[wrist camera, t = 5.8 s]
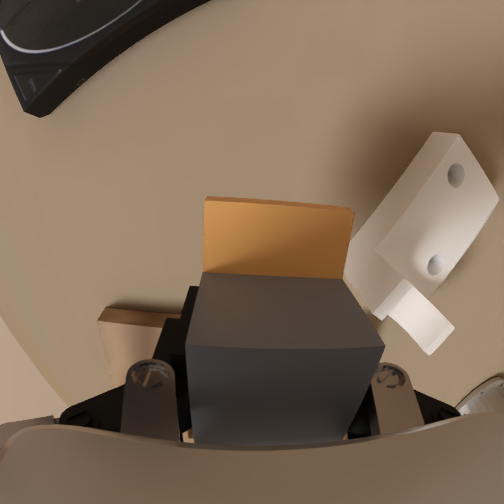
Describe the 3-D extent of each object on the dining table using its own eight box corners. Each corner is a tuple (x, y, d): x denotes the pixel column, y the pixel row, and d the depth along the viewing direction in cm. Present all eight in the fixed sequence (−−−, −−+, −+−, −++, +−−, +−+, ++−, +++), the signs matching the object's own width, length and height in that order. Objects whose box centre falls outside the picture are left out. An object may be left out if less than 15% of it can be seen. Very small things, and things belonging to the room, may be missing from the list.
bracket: (387, 301, 24) (429, 355, 17) (333, 259, 22) (372, 313, 15) (473, 189, 21) (534, 213, 14) (430, 131, 19) (498, 139, 12)
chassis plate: (366, 318, 24) (374, 331, 22) (314, 451, 32) (316, 463, 30) (105, 307, 23) (97, 320, 21) (144, 447, 31) (141, 459, 29)
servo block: (327, 193, 10) (414, 255, 5) (289, 394, 14) (307, 497, 8) (213, 184, 10) (182, 241, 5) (210, 392, 14) (202, 498, 8)
